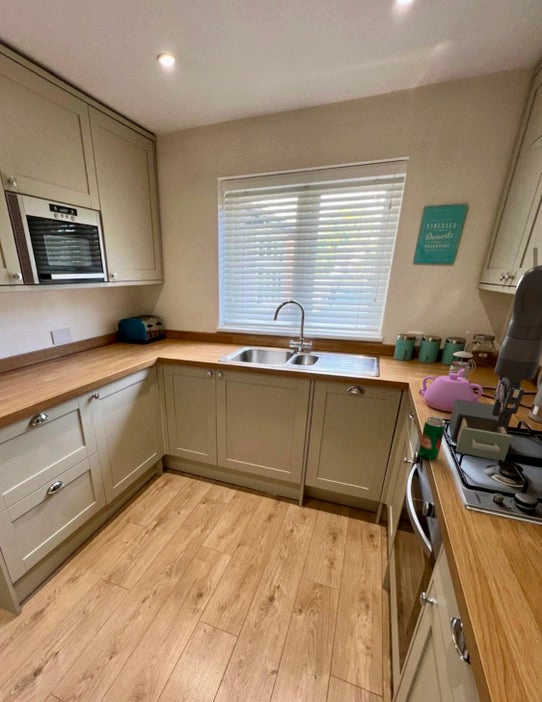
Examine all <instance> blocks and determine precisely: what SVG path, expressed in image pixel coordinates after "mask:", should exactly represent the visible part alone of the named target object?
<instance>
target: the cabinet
mask: <svg viewBox="0 0 542 702" xmlns="http://www.w3.org/2000/svg"><path fill="white" fill-rule="evenodd" d="M493 408H494V403H493V404H492V403H485V402H481V403H479V402H472V401H465V400H458V399H455V402H454V406H453V410H452V412H451V413H450V414H451V415H450V419H449V422H448V427H449V434H450V441H451V440H452V441H451V442H453V441H454V442H455V443H458V441H457V436H456V433H457V429H458V425H459V422H460V418H461V417H466V418H473V419H479V420H485V421H491V422H497V420H498V416H493V415H492V411H493ZM504 428H505V427H504ZM505 430H506V431H508V427H507V428H505Z"/></svg>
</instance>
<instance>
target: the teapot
mask: <svg viewBox="0 0 542 702" xmlns="http://www.w3.org/2000/svg"><path fill="white" fill-rule="evenodd" d="M463 372H464V368H461V369H460V370H459V371H458V373H457V374H456V373H449V372H448V375H440V376H438V377H436V376H434V375H428V376H425V377H424V378H423V380H422V388H420V389H419V390H418V395H419V396H421V397H423V399H424V401H425V403H426V404H427V405H428V406H430V407H432V408H433V409H437V410H440V411H443V412H449V413H450V412H451V413H452V410H453V406H454V402H455V399H458V400H465V401H472V402H479V403H482V401H480V400H479V399H480V398H481V396H482V394H483V391H484V389H483V386H482V385H480V384H477V383H470V381H469V380H468V379H467V380H466V379H464V378H462V376H463ZM427 380H433V381H432V382H431V383H430V384H429V385H428V386H427ZM473 387H474V388H476V389H478V392H477V395H476V397H475V392H474V389H473Z"/></svg>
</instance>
